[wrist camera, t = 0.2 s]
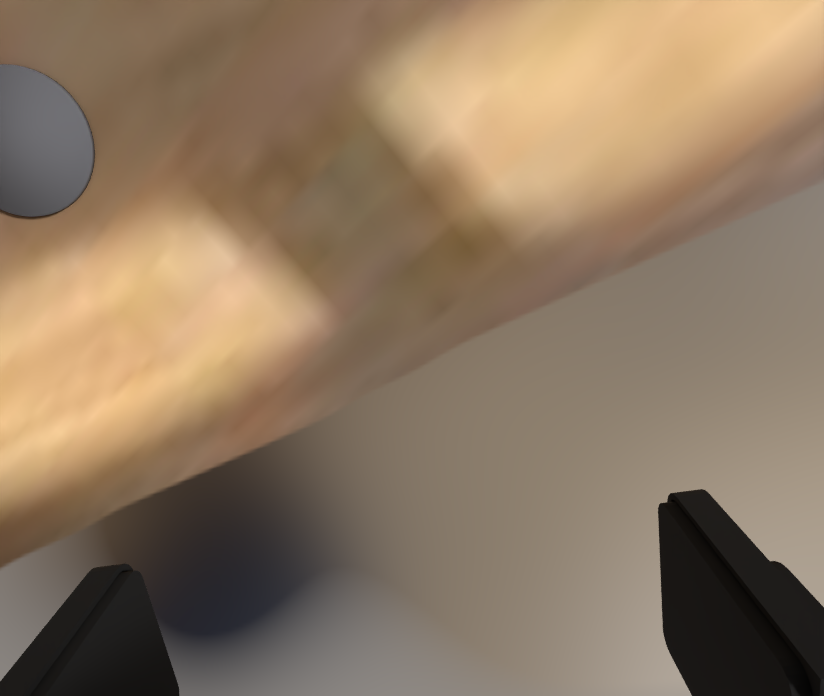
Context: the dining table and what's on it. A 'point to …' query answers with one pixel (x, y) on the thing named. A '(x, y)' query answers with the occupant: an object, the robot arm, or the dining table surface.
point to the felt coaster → (41, 144)
